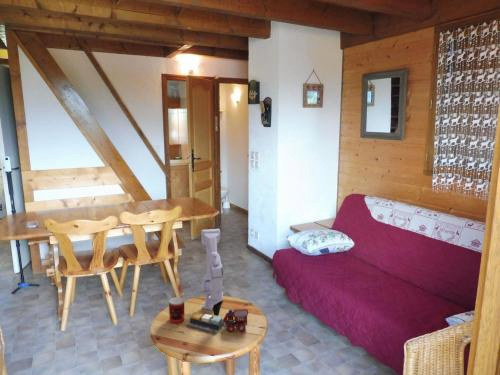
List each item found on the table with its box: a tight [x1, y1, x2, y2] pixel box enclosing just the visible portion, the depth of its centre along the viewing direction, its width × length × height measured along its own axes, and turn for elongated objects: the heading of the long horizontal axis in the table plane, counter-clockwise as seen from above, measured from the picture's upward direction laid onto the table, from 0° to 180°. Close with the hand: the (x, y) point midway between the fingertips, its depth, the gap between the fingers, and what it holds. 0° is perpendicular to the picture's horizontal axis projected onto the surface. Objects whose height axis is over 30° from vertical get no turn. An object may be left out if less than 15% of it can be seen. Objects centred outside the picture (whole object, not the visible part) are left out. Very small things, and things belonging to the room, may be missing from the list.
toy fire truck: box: [222, 308, 249, 333], centre depth 188 cm, size 7×12×10 cm, turn 95°
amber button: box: [191, 312, 204, 320], centre depth 194 cm, size 4×4×2 cm
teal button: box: [211, 315, 223, 325], centre depth 190 cm, size 4×4×2 cm
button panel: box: [185, 312, 224, 335], centre depth 192 cm, size 12×17×3 cm
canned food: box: [168, 296, 186, 325], centre depth 195 cm, size 8×8×11 cm
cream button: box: [202, 313, 213, 323], centre depth 192 cm, size 4×4×2 cm
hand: (216, 314), depth 189 cm, fingers closed
